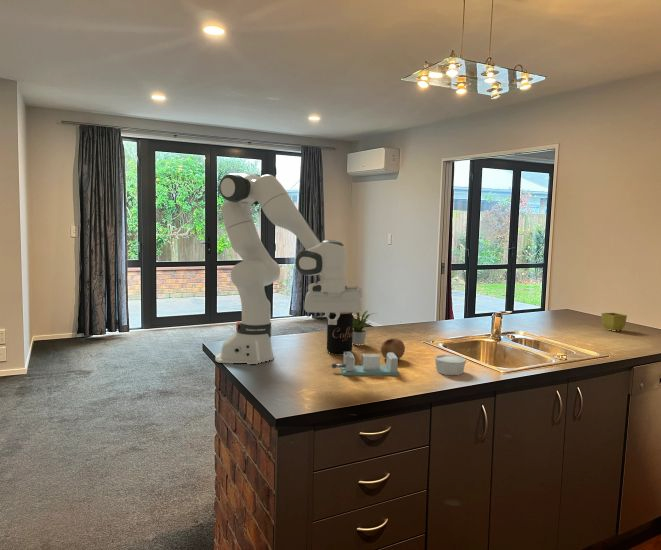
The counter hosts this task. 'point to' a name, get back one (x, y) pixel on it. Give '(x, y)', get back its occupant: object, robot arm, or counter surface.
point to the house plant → (359, 329)
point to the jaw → (346, 362)
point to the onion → (393, 347)
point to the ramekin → (450, 364)
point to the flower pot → (613, 321)
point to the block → (370, 362)
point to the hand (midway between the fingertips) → (332, 324)
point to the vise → (384, 370)
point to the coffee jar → (340, 333)
